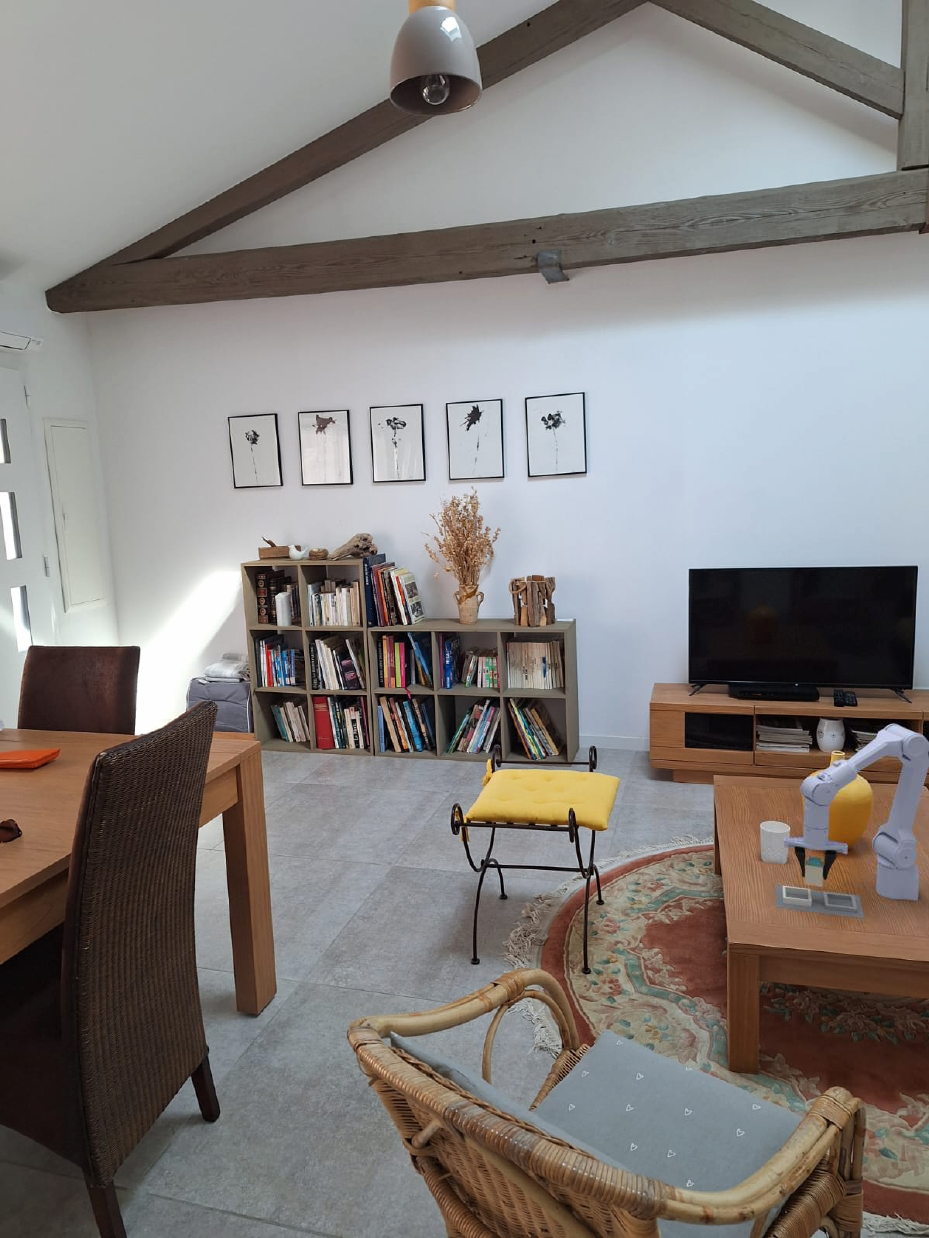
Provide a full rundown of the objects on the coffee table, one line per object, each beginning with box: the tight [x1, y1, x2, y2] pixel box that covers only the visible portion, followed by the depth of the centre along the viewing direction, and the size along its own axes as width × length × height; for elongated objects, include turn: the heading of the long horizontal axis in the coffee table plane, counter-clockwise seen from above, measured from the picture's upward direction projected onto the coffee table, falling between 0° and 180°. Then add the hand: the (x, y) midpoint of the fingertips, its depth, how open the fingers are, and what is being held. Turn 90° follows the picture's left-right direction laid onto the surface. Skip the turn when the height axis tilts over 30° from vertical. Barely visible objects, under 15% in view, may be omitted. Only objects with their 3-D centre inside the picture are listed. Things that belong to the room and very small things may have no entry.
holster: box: [823, 891, 857, 913], centre depth 210 cm, size 7×7×1 cm
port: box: [782, 885, 812, 907], centre depth 213 cm, size 7×7×2 cm
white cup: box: [759, 820, 791, 865], centre depth 237 cm, size 8×8×10 cm
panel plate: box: [774, 885, 865, 919], centre depth 212 cm, size 20×12×1 cm, turn 71°
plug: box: [804, 855, 824, 888], centre depth 211 cm, size 4×4×6 cm
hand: (814, 876), depth 211 cm, fingers closed on plug, 4 cm apart
